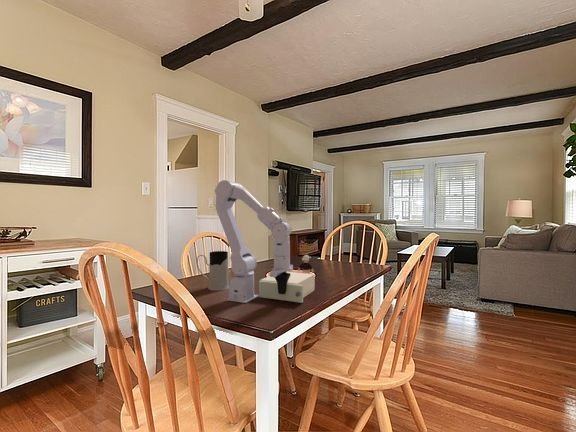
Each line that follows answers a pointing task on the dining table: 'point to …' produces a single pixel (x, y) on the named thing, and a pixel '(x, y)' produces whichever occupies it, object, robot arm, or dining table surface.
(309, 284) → the cabinet
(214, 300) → the dining table surface
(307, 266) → the grandmother figurine
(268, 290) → the door
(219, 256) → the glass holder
